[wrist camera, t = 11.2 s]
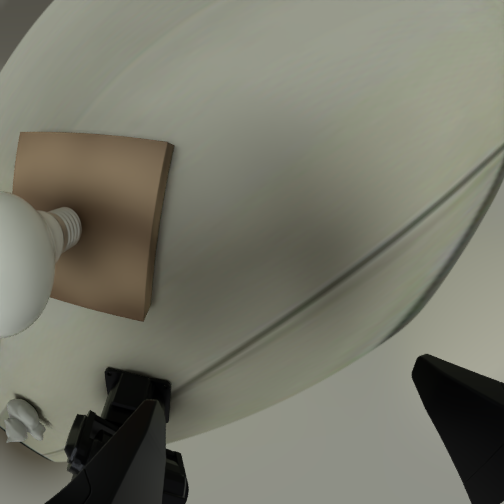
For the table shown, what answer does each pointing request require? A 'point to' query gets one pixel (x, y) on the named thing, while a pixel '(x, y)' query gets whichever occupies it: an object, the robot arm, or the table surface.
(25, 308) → the lightbulb
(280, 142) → the table surface
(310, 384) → the table surface
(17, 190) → the walnut plinth
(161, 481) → the robot arm
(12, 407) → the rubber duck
